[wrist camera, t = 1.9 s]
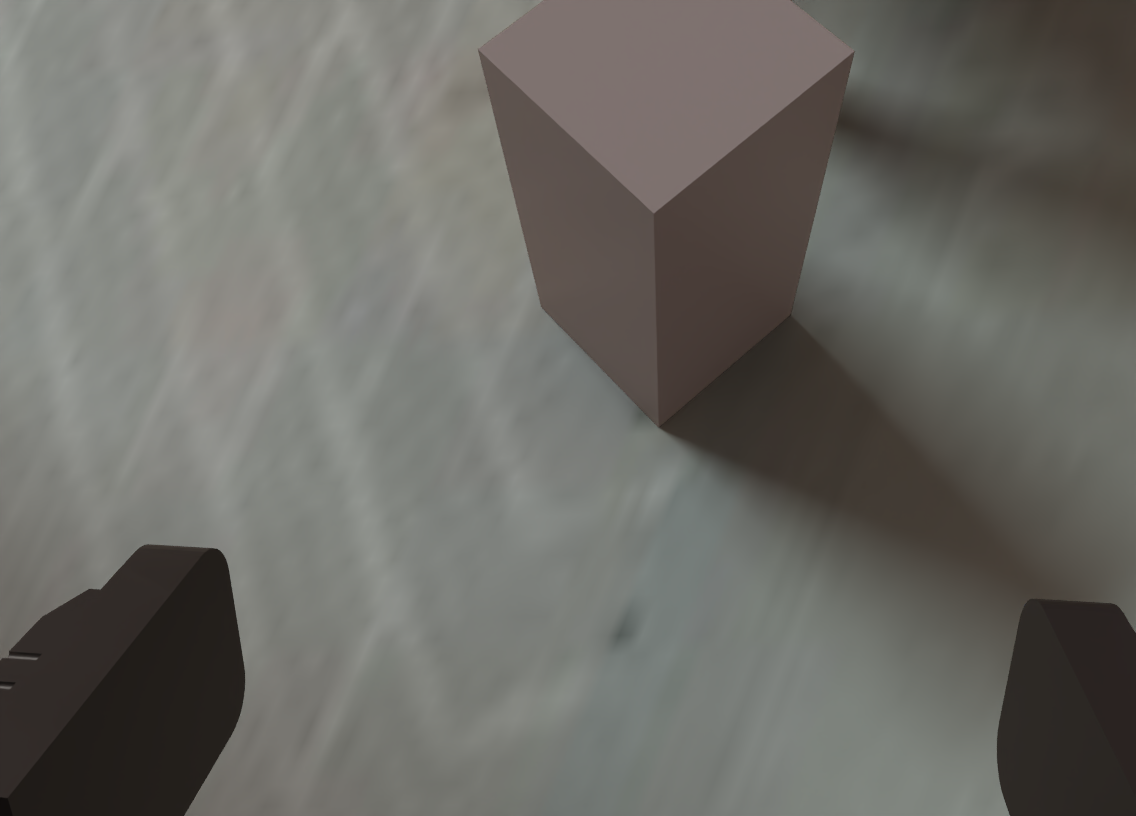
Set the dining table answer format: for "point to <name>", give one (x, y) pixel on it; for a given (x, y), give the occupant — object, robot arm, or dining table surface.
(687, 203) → the stone
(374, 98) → the dining table surface
